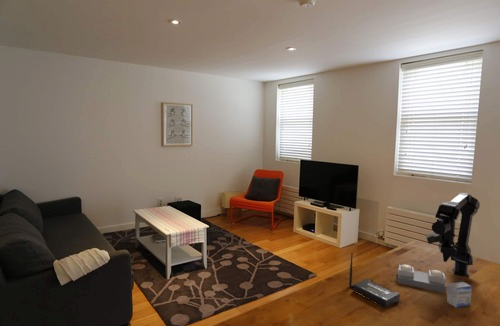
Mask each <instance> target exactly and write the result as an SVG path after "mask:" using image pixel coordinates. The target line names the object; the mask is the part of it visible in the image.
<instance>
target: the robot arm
mask: <svg viewBox="0 0 500 326" xmlns="http://www.w3.org/2000/svg"><path fill="white" fill-rule="evenodd" d="M480 205H481V204H480V202H479V200H478V199H477V198H476V197H474V196H472V194H470V193H465V192H458V194H457V195H456V196H455V197H454V198H453V199H451V200H450V201H444V202H442V203H440V205H439V206H438V208H437V212H436V213H435V217H434V218H435V219H436V221H434V222H433V223H432V225H431V230H432V231H433V232H434V233H427V234H426V235H425V238H426V241H427V243H428V244H431V245H432V244H435V243H439V244H437V245H438V249H439V252H440V253H441V254H442V260H443V262H444V263H447V262H448V260H449V259H450V261H454V268H452V272H453V274H454V275H458V276H463V277H468V278H469V277H470V274H469V272H468V269H469V266H473V265H474V258H473V255H472V249H471V247H470V245H469V240H470V235H471V234H470V233H471V230H472V229H471V228H472V222H473V217H474V216H475V215H476V214H478V211H479V209H480V207H481V206H480ZM460 214H461V217H460V218H461V219H460V222H459V223H460V224H459V229H458V235H457V242H456V243H455V237H456V233H455V230H456V229H455V228H456V221H457V220H458V218H459V216H460Z"/></svg>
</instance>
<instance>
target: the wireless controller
mask: <svg viewBox="0 0 500 326" xmlns="http://www.w3.org/2000/svg"><path fill="white" fill-rule="evenodd" d="M352 278H353V252H351V257H350V265H349V279H348V287H349V286H351V287H350V288H352V287H353V288H352V291H353V290H354V291H356V292H358V293H360V294H362V295H363V296H365V297H367V298H369V299H370V300H372V301H374V302H376V303H377V304H376V303H375V304H376V305H378V304H379V305H378V306H380V305H381V306H380V307H381V308H383V309H387V308H389V307H391V306H393V305H395V304H396V303H398V302H400V295H401V294H400V292H398V291H394V290H392V289H389V288H388V287H387V288H386V287H384V286H382V285H380V284H378V283H377V282H374V281H372V280H371V279H369V278H366V279H365V278H364V279H363V280H361V281H358V282H355V283H353V279H352ZM352 283H353V284H352ZM370 300H369V301H370ZM372 301H371V302H372ZM374 302H373V303H374Z"/></svg>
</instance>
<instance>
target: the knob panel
mask: <svg viewBox="0 0 500 326" xmlns="http://www.w3.org/2000/svg"><path fill="white" fill-rule="evenodd" d="M402 265H403V264H399V265H398V269H397V284H400V285H406V286H410V287H413V288H414V287H415V288H419V289H425V290H429V291H434V292H439V293H444V294H447V292H448V285H447V283H446V282H447V281H446V279H447V278H446V275H445V273H444V272H442V273H443V274H442V277H438V276H432V275H431V274H432V270H430V269H428V273H427V272H423V271H418V270H415V269H414V267H413V266H411V267H412V268H411V271H406V270H401V267H402Z"/></svg>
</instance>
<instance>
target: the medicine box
mask: <svg viewBox="0 0 500 326" xmlns="http://www.w3.org/2000/svg"><path fill="white" fill-rule="evenodd" d="M472 289H473V287H472V285H471V284H468V283H467V282H464V281H459V282H451V283H448V285H447V297H446V302H447V304H449V305H451V306H453V307H454V308H456V309H457V308H462V307H468V306H471V301H472V300H471V298H472Z"/></svg>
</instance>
